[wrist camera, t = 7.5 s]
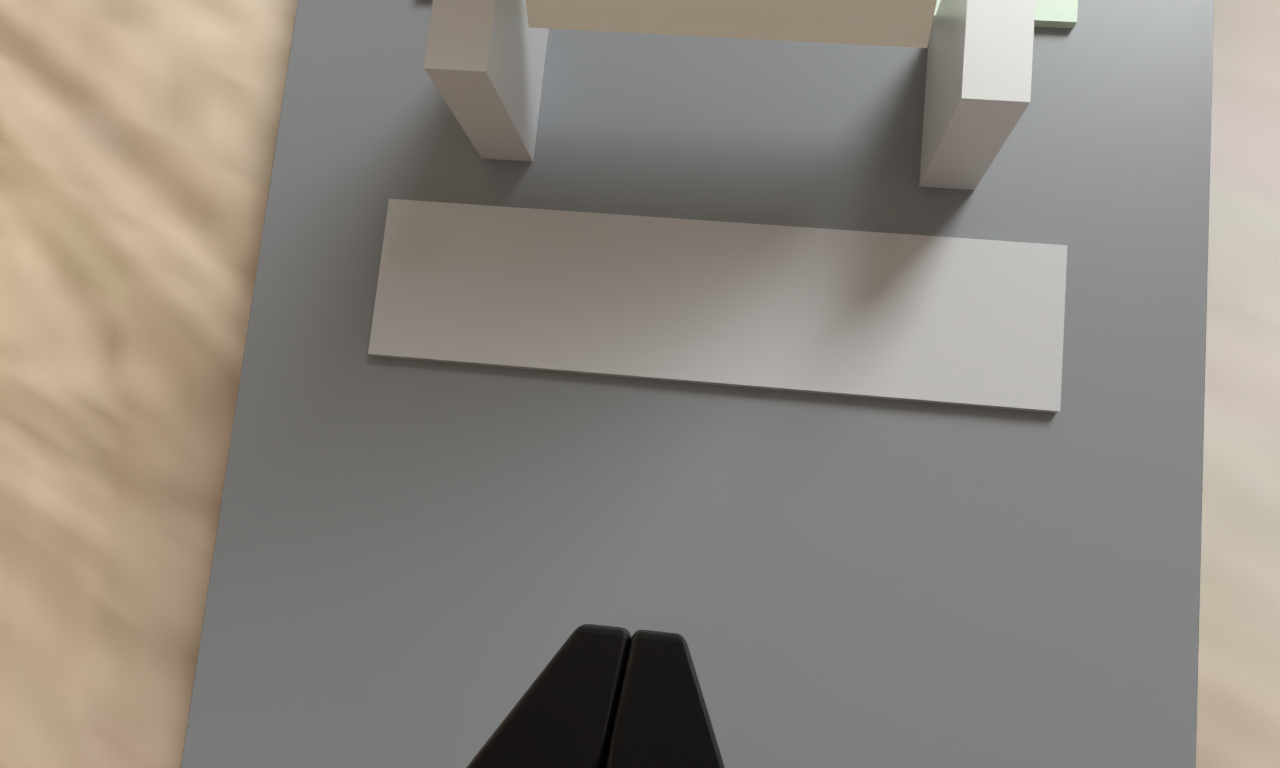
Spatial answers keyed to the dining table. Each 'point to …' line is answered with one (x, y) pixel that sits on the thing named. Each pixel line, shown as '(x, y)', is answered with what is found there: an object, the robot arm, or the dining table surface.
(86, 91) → the dining table surface
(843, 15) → the switch lever
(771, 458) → the switch panel
